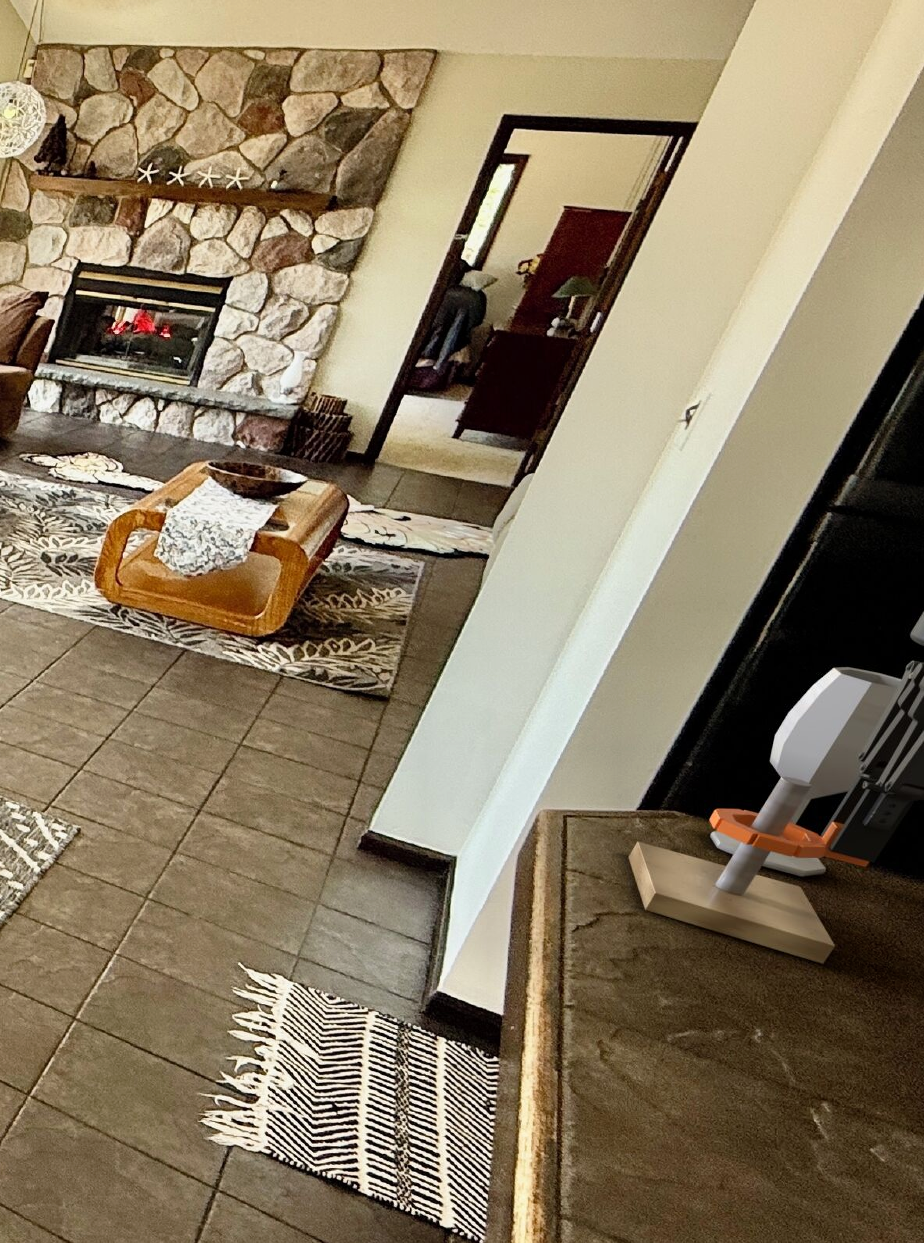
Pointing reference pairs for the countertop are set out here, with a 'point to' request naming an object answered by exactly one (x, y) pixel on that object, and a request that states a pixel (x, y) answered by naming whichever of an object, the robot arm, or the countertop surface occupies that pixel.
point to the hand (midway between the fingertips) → (846, 848)
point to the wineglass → (824, 745)
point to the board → (728, 910)
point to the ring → (799, 838)
